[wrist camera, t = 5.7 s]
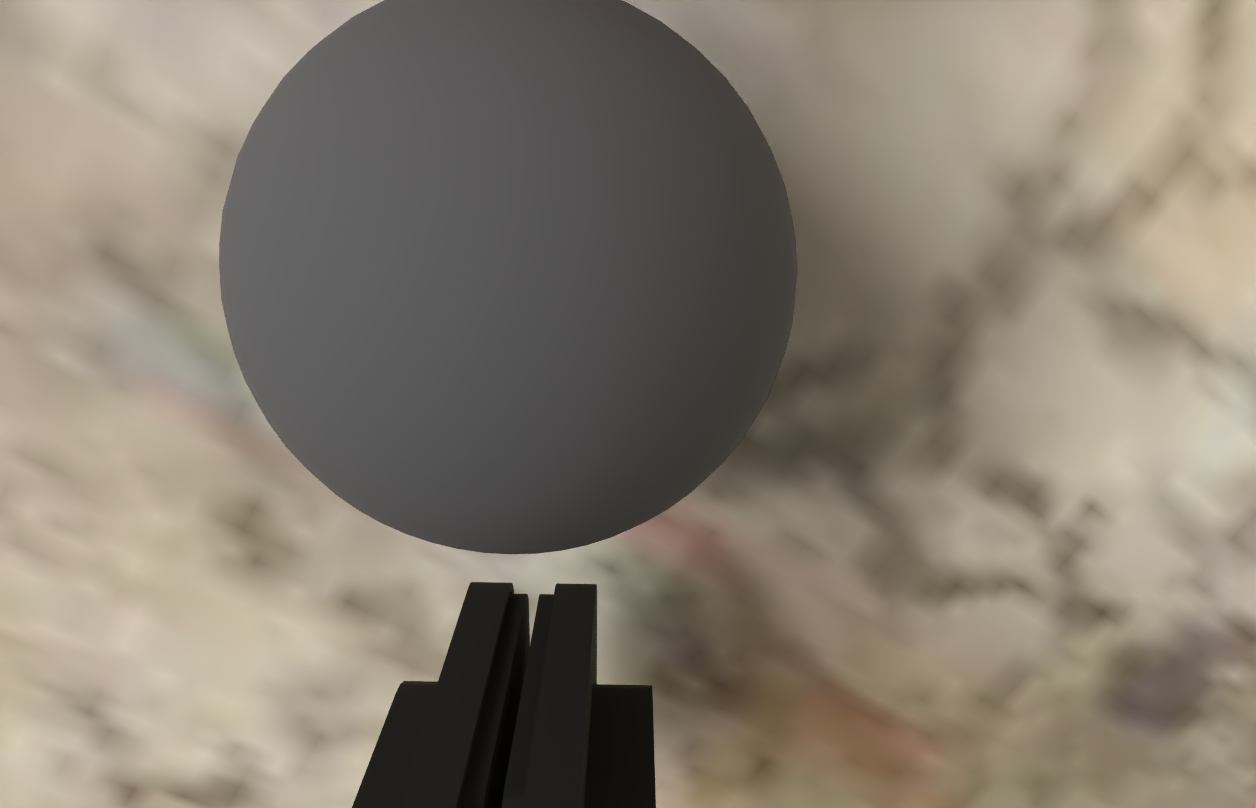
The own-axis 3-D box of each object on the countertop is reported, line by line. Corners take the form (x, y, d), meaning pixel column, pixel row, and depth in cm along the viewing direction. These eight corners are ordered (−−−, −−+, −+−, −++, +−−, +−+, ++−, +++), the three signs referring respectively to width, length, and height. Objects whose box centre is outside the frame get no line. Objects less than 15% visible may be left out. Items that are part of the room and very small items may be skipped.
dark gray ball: (926, 122, 5) (791, -76, 10) (-31, 95, 5) (267, -93, 9) (791, 678, 9) (736, 349, 13) (216, 670, 9) (352, 340, 13)
